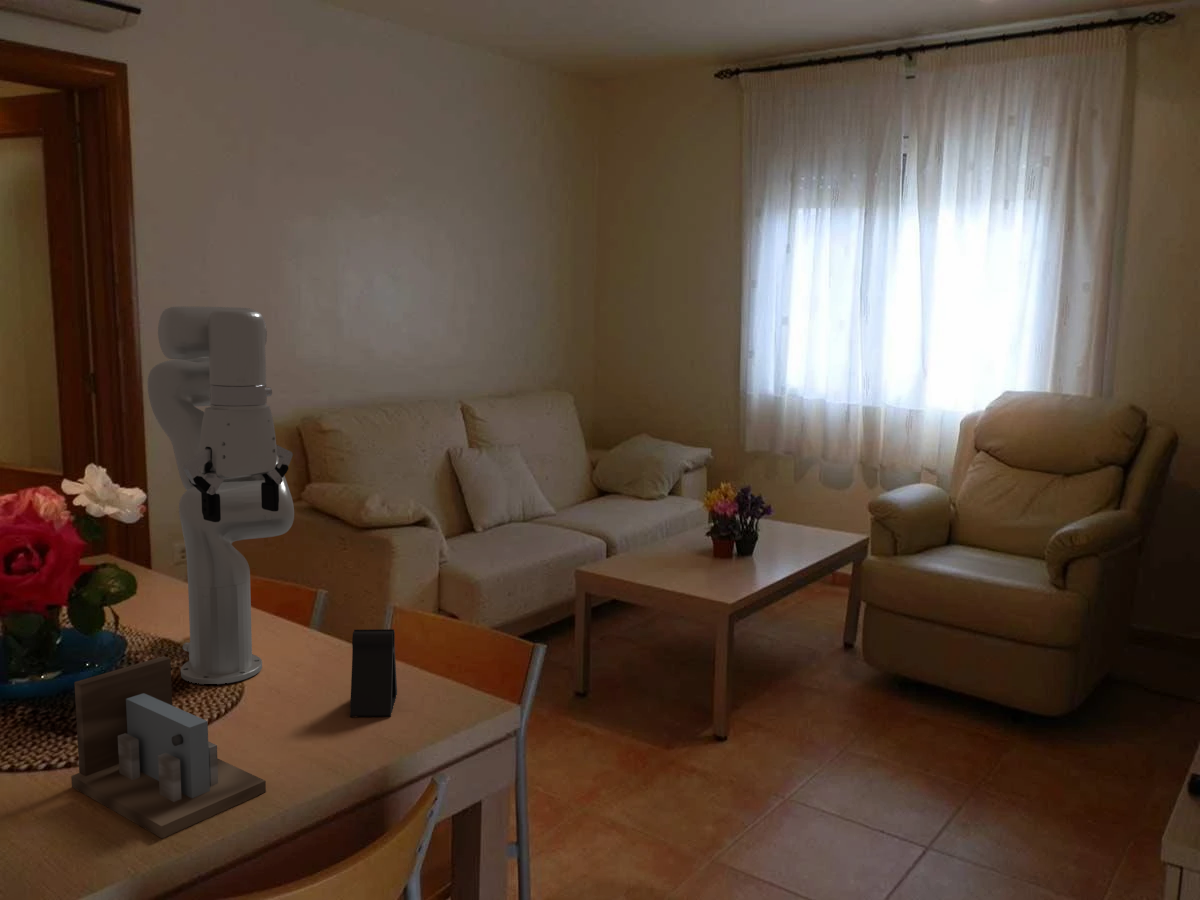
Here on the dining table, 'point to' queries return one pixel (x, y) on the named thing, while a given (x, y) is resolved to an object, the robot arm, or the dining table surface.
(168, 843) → the dining table surface
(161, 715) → the blue-grey rectangular block
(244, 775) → the wooden peg rack
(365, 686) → the phone stand
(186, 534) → the robot arm
